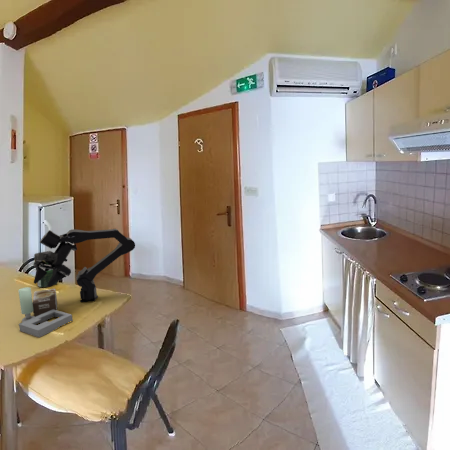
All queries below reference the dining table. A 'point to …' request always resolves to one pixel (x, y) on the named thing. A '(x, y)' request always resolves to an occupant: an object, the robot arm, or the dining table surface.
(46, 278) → the coffee jar
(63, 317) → the keyhole plate
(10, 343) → the dining table surface
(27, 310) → the peg
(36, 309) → the coffee box
